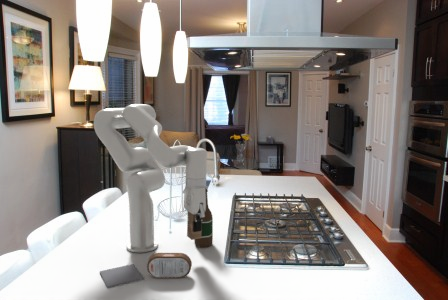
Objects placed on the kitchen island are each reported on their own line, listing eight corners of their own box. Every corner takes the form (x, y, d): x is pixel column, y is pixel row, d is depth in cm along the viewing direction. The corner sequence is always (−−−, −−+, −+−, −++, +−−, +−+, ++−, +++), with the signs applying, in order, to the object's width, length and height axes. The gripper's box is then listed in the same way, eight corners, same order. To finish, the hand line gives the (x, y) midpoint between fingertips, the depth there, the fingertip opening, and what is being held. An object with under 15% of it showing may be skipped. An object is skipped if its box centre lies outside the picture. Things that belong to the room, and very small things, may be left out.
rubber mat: (99, 272, 127) (99, 271, 127) (133, 265, 133) (133, 263, 133) (107, 288, 117) (107, 286, 117) (144, 279, 123) (144, 277, 123)
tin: (191, 274, 126) (191, 251, 125) (191, 279, 123) (191, 255, 122) (148, 275, 126) (147, 252, 125) (146, 279, 123) (145, 255, 122)
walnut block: (187, 236, 138) (187, 208, 136) (196, 234, 140) (197, 206, 138) (191, 239, 135) (192, 211, 133) (201, 238, 137) (202, 209, 135)
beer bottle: (192, 247, 150) (191, 190, 146) (196, 240, 157) (196, 186, 154) (210, 248, 148) (210, 191, 145) (214, 241, 156) (214, 186, 153)
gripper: (177, 177, 139) (176, 223, 142) (196, 188, 125) (195, 238, 128) (195, 176, 143) (193, 220, 146) (215, 186, 129) (213, 235, 132)
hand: (194, 228), depth 137 cm, fingers closed on walnut block, 4 cm apart
